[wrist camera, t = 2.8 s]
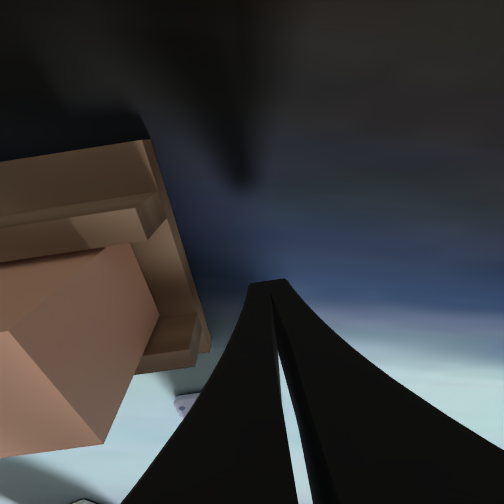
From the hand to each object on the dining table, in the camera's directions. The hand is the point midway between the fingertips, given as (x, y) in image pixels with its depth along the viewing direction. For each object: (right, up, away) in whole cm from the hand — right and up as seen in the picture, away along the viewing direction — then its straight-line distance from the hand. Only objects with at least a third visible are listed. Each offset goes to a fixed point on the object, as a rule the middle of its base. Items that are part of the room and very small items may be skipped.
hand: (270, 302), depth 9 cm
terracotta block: (-9, 0, +3) cm, 10 cm away
